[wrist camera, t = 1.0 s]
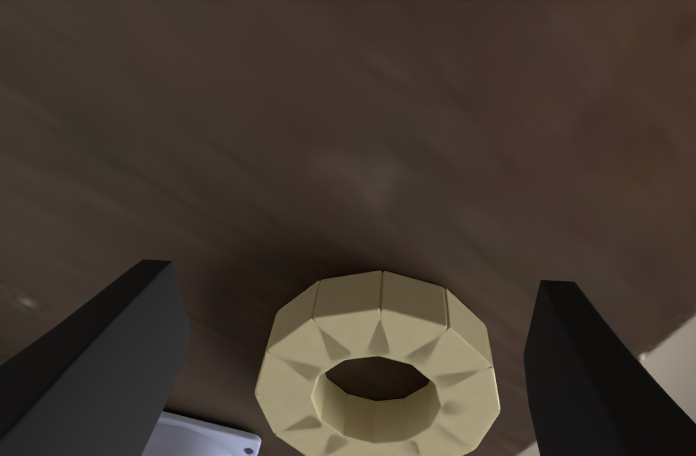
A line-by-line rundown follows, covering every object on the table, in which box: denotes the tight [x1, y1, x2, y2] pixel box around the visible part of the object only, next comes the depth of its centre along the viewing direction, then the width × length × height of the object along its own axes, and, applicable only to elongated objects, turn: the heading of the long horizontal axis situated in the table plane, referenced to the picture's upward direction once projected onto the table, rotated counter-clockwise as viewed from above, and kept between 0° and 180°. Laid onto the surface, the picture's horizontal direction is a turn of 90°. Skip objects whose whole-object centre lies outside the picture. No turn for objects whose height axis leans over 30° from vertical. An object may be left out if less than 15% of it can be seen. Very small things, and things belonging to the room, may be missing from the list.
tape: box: [255, 271, 500, 456], centre depth 24 cm, size 10×10×2 cm
